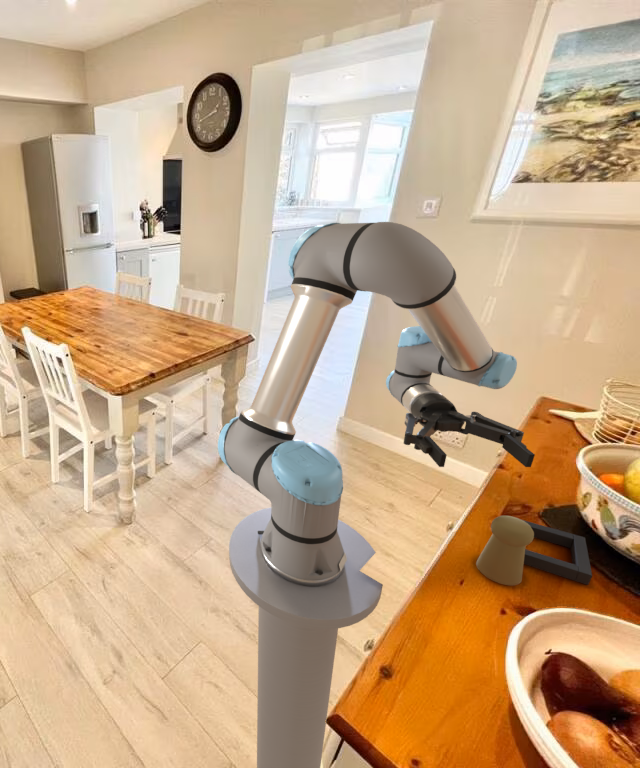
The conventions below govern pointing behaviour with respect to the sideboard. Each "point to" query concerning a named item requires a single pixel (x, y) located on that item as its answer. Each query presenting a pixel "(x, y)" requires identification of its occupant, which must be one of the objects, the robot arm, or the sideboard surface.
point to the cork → (505, 550)
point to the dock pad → (573, 571)
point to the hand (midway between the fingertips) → (485, 461)
